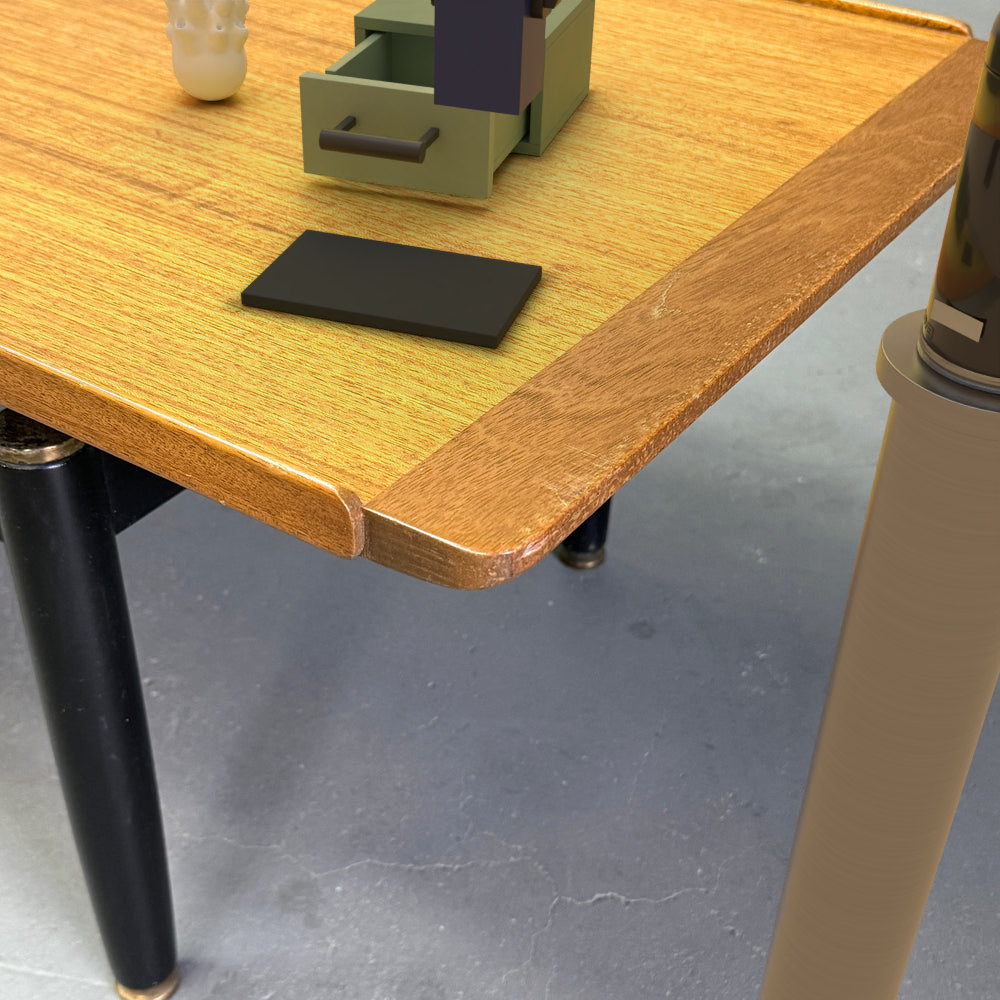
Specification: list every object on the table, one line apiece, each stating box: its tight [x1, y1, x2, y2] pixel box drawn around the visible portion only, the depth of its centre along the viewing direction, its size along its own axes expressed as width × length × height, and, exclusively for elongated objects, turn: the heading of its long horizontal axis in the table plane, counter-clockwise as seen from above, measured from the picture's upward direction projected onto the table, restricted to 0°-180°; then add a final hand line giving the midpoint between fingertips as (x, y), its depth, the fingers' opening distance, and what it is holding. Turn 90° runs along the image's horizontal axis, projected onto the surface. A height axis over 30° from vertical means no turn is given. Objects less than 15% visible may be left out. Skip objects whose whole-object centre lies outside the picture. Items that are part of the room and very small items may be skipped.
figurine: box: [164, 0, 250, 102], centre depth 110 cm, size 7×7×12 cm
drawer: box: [298, 31, 531, 201], centre depth 99 cm, size 19×14×7 cm
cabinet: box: [353, 0, 596, 157], centre depth 110 cm, size 16×15×9 cm
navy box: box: [434, 0, 546, 116], centre depth 74 cm, size 5×5×9 cm
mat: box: [240, 228, 543, 349], centre depth 85 cm, size 16×10×1 cm, turn 73°
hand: (492, 7), depth 74 cm, fingers closed on navy box, 4 cm apart
